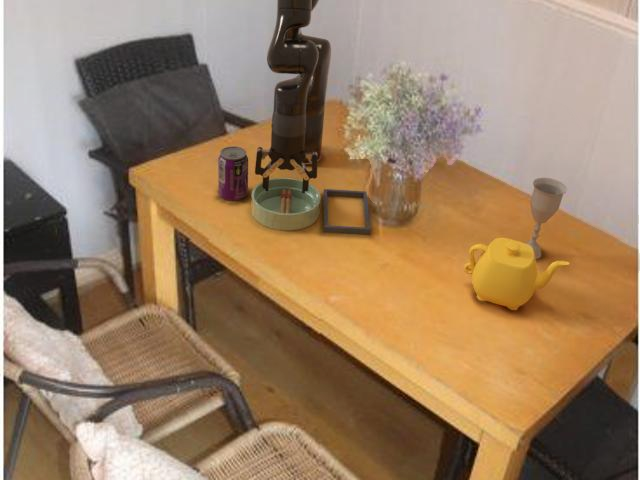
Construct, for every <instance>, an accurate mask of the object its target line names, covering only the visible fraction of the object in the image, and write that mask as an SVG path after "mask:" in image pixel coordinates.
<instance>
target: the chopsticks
mask: <svg viewBox="0 0 640 480" xmlns="http://www.w3.org/2000/svg"><path fill="white" fill-rule="evenodd" d="M291 195H292V194H291V190H287V191H286V190H285V189H283V190H282V193H281V207H280V213H288V214H289V213H290V211H291Z"/></svg>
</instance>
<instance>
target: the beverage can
mask: <svg viewBox="0 0 640 480" xmlns="http://www.w3.org/2000/svg"><path fill="white" fill-rule="evenodd" d="M219 153H220V154H219V156H218V158H217V159H218V160H217V163H218V167H217V168H218V169H217V170H218V171H217V174H218V195H219V197H220V198H221V199H224V200H227V201H230V202H231V201H233V202H235V201H241V200H243V199H245V198H247V196H248V194H249V157H248V155H247V151H246V149H244V148H243V147H241V146H235V145H230V146H225V147H223V148H222V149H221V150H220V152H219Z"/></svg>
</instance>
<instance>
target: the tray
mask: <svg viewBox="0 0 640 480" xmlns="http://www.w3.org/2000/svg"><path fill="white" fill-rule="evenodd" d="M328 197H341V198H342V197H343V198H360V199H362V204H363V214H364V225H365V226H364V227H363V226H347V225H329V211H328V209H329V208H328V207H329V206H328ZM323 233H331V234H347V235H348V234H349V235H350V234H351V235H366V236H370V235H371V221H370V211H369V203H368V193H367V191H364V190H347V189H332V188H329V189H328V188H324V189H323Z"/></svg>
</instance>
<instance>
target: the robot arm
mask: <svg viewBox="0 0 640 480" xmlns="http://www.w3.org/2000/svg"><path fill="white" fill-rule="evenodd" d="M276 2H277V5H276V6H277V7H276V19H275V20H276V21H275V26H274V31H273V35H272V37H271V41H270V43H269V47H268V49H267V53H266V62H267V66H268V68H269V69H270V71H272V72H273V73H275V74H282V75H283V74H286V75H296V76H295V77H293V78H290V79H285V80H281V81H279V82H277V83H276V85H274V86H275V87H274V92H273V93H274V94H273V112H272V117H271V127H270V128H271V135H270V137H271V138H270V148H269V149H264V148H263V147H262V146H258V147H257V150H256V155H255V157H256V158H255V165H254V169H255V170H254V174H255V175H256V176H261V177H262V182H263V189H265V191H268V189H269V179H270V175H271V174H272V173H274V172H275V171H276V170H277V169H279V170H280V171H281V170H282V171H285V170H288V171H294V170H295V171H296V172H297V173H298V174H299V175H300V176H301V177H302V181H303V184H302V193H304V194H305V191H308V185H309V184H310V180H311V179H317V178H318V163H319V162H321V159H322V145H323V134H324V133H323V132H324V122H325V110H326V96H327V89H328V81H329V80H328V79H329V73H330V72H329V71H330V67H331V66H330V65H331V58H332V45H331V42H330V41H329V40H328V39H325V38H323V37H322V38H321V37H317V36H311V35H305V34H303V33H302V28H306V27H309V25H310V24H311V21H312V12H313V11H314V10H315V8H316V7H317V5H318V3H319V2H320V0H277V1H276ZM267 156H268V158H269V159H270V161H269V162H268V163H267V165H266V166H265V167H262V161H263V160H265V159H266V158H267ZM306 166H311V170H308V168H307V167H306Z"/></svg>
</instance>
